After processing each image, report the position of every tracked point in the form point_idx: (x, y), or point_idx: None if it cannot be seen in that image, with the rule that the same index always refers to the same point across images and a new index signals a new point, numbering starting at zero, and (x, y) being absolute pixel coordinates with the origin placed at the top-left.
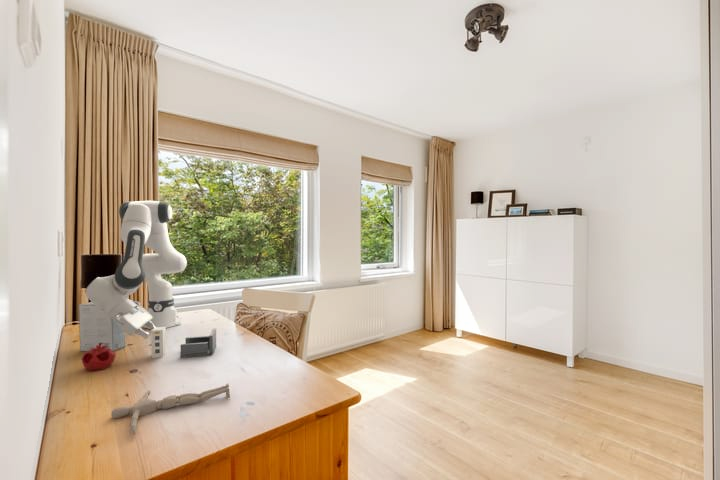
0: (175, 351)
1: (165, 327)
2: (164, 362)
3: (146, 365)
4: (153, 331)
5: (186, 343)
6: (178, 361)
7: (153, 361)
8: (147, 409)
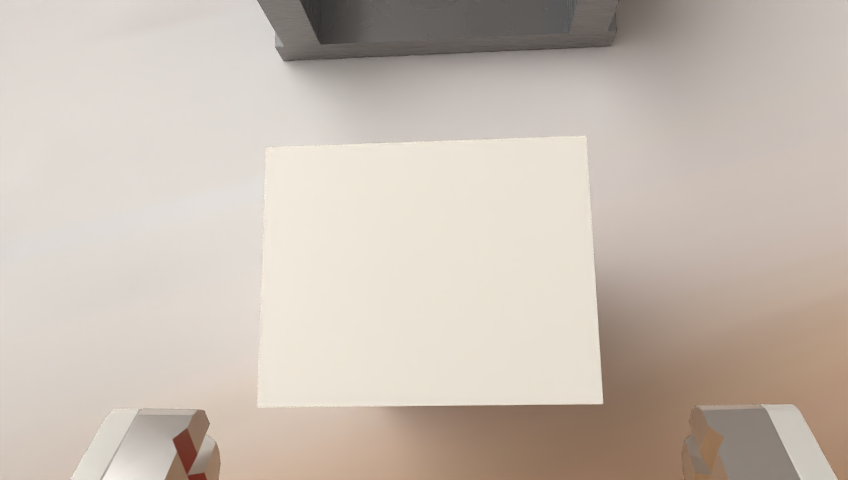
0: None
1: (313, 149)
2: (740, 183)
3: (814, 369)
4: (597, 352)
5: (306, 5)
6: (734, 36)
7: (676, 327)
8: None
